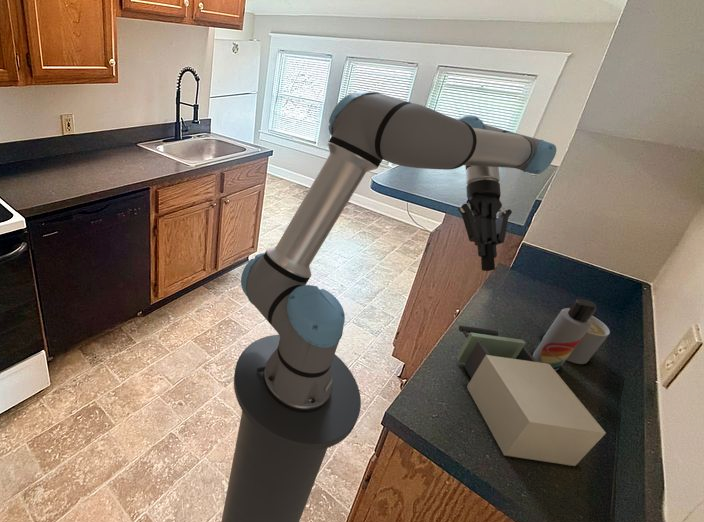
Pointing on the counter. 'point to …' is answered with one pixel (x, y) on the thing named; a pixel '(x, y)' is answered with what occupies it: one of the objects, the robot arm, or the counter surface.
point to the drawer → (489, 348)
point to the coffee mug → (588, 341)
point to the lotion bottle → (565, 334)
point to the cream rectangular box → (533, 411)
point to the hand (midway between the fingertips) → (488, 269)
